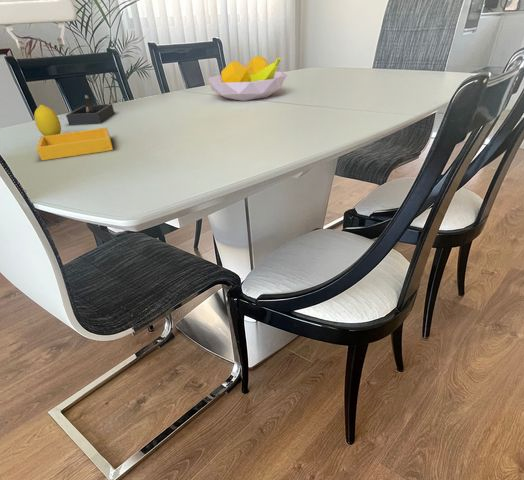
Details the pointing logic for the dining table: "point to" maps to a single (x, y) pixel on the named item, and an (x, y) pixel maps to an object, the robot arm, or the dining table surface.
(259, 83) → the fruit bowl
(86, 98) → the lighter
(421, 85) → the dining table surface
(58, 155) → the yellow tray
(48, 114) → the lemon
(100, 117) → the dark tray
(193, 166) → the dining table surface
